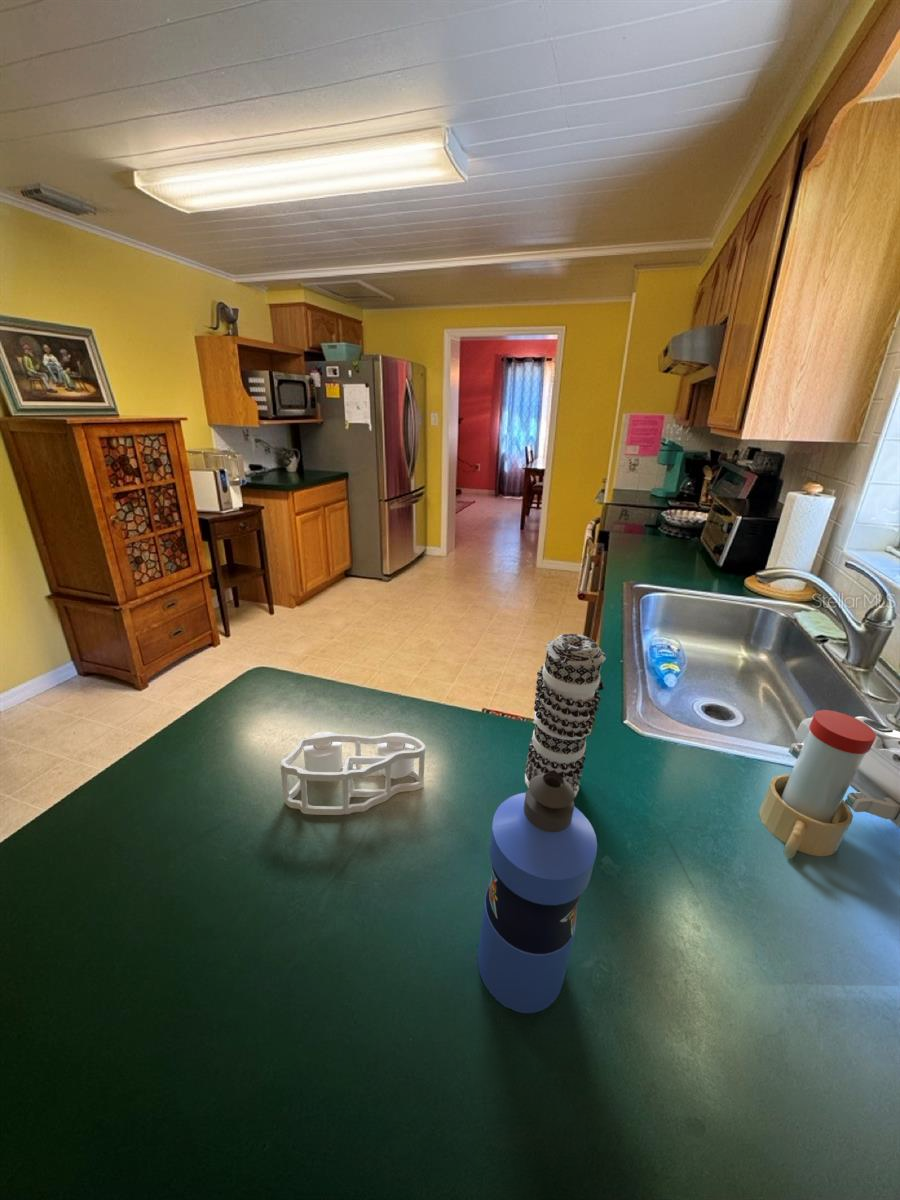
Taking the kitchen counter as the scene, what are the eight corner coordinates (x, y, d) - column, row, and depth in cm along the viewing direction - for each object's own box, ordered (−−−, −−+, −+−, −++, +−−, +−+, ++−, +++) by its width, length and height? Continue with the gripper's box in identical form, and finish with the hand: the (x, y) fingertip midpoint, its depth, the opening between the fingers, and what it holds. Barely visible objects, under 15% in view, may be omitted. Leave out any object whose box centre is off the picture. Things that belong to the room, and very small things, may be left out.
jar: (802, 809, 71) (848, 710, 64) (835, 846, 65) (890, 742, 58) (761, 808, 71) (802, 709, 64) (790, 845, 65) (839, 740, 58)
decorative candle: (540, 753, 80) (562, 620, 70) (591, 782, 75) (622, 642, 65) (510, 781, 74) (529, 640, 64) (563, 815, 68) (593, 665, 58)
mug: (766, 794, 74) (778, 764, 72) (840, 831, 68) (856, 799, 66) (745, 841, 66) (758, 809, 63) (827, 887, 60) (845, 854, 57)
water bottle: (467, 996, 47) (489, 807, 37) (485, 907, 55) (507, 734, 45) (562, 1029, 45) (612, 838, 35) (567, 932, 53) (608, 756, 43)
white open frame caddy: (424, 761, 77) (425, 724, 74) (423, 815, 67) (425, 775, 64) (299, 759, 76) (296, 722, 73) (279, 815, 65) (275, 774, 63)
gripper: (985, 854, 57) (883, 860, 55) (839, 742, 76) (760, 744, 74) (1012, 815, 54) (906, 820, 53) (854, 709, 73) (773, 710, 72)
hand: (820, 775), depth 64 cm, fingers open, 8 cm apart
